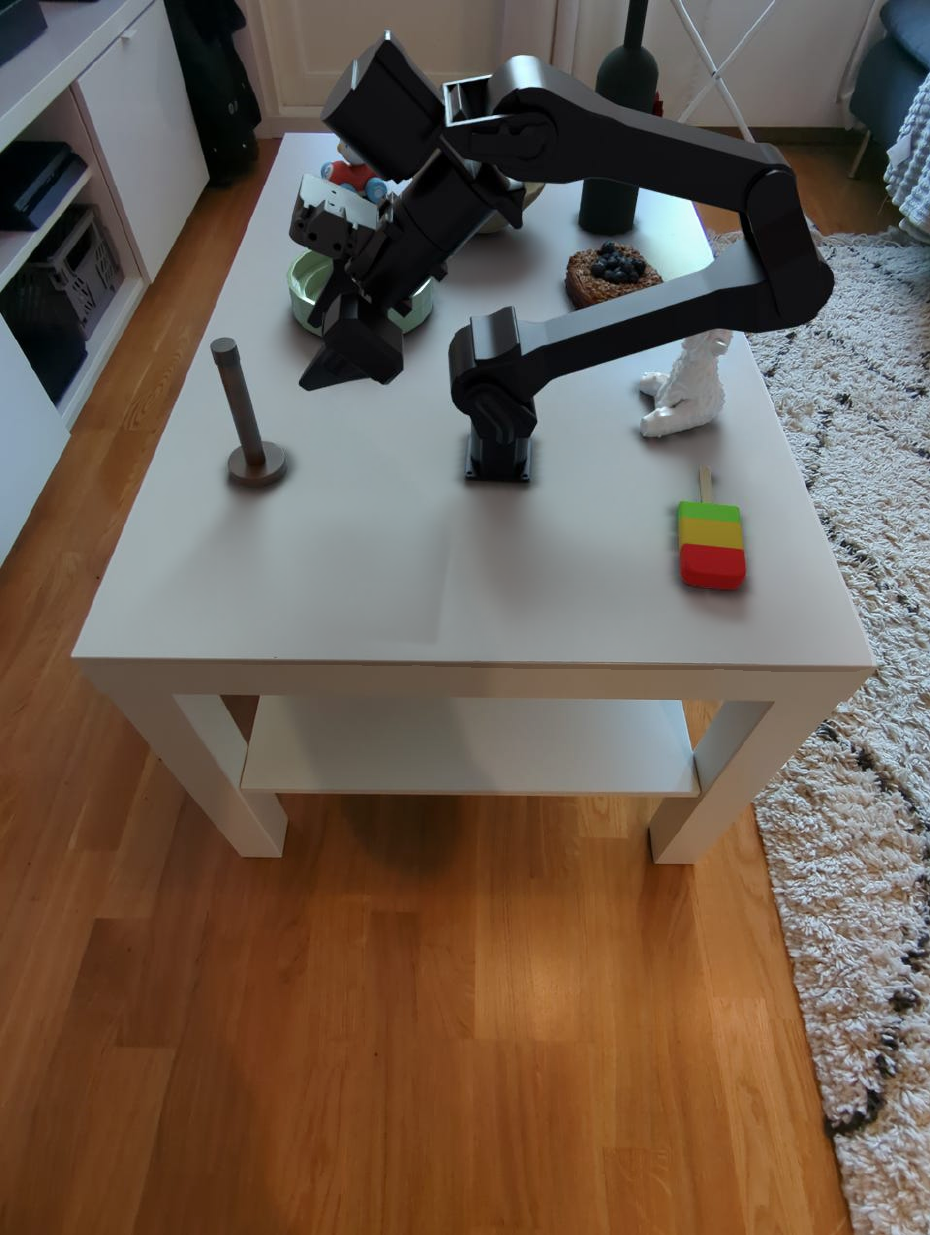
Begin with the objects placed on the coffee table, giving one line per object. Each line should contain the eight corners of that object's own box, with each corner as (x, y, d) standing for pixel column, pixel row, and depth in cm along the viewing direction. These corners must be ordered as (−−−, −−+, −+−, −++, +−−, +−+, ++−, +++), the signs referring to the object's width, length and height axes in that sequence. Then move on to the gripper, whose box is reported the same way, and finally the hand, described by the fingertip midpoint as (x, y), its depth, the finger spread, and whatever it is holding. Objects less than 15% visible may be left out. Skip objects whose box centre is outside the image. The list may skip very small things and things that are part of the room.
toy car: (317, 185, 112) (306, 109, 104) (373, 175, 114) (366, 100, 106) (335, 212, 107) (325, 135, 99) (393, 201, 109) (387, 124, 101)
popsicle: (679, 586, 66) (684, 573, 65) (674, 471, 75) (679, 457, 74) (742, 593, 66) (749, 580, 64) (730, 477, 75) (736, 462, 73)
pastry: (631, 268, 98) (639, 223, 94) (675, 317, 92) (686, 270, 87) (554, 282, 96) (558, 236, 92) (592, 333, 89) (600, 286, 85)
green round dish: (425, 350, 87) (423, 314, 84) (280, 343, 88) (272, 308, 84) (439, 272, 98) (438, 238, 94) (309, 267, 98) (303, 233, 95)
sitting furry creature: (636, 383, 84) (659, 280, 74) (715, 389, 83) (748, 286, 73) (639, 439, 78) (664, 335, 68) (723, 445, 77) (760, 342, 68)
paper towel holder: (280, 489, 73) (247, 365, 62) (224, 486, 74) (181, 362, 62) (292, 451, 77) (262, 327, 65) (238, 448, 77) (200, 324, 66)
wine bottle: (654, 235, 103) (712, -49, 79) (581, 236, 103) (617, -48, 79) (644, 208, 108) (696, -68, 84) (574, 209, 108) (606, -67, 84)
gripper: (350, 89, 57) (239, 237, 66) (337, 204, 46) (206, 363, 55) (453, 195, 64) (340, 317, 73) (463, 317, 53) (329, 444, 61)
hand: (307, 354), depth 65 cm, fingers open, 9 cm apart
